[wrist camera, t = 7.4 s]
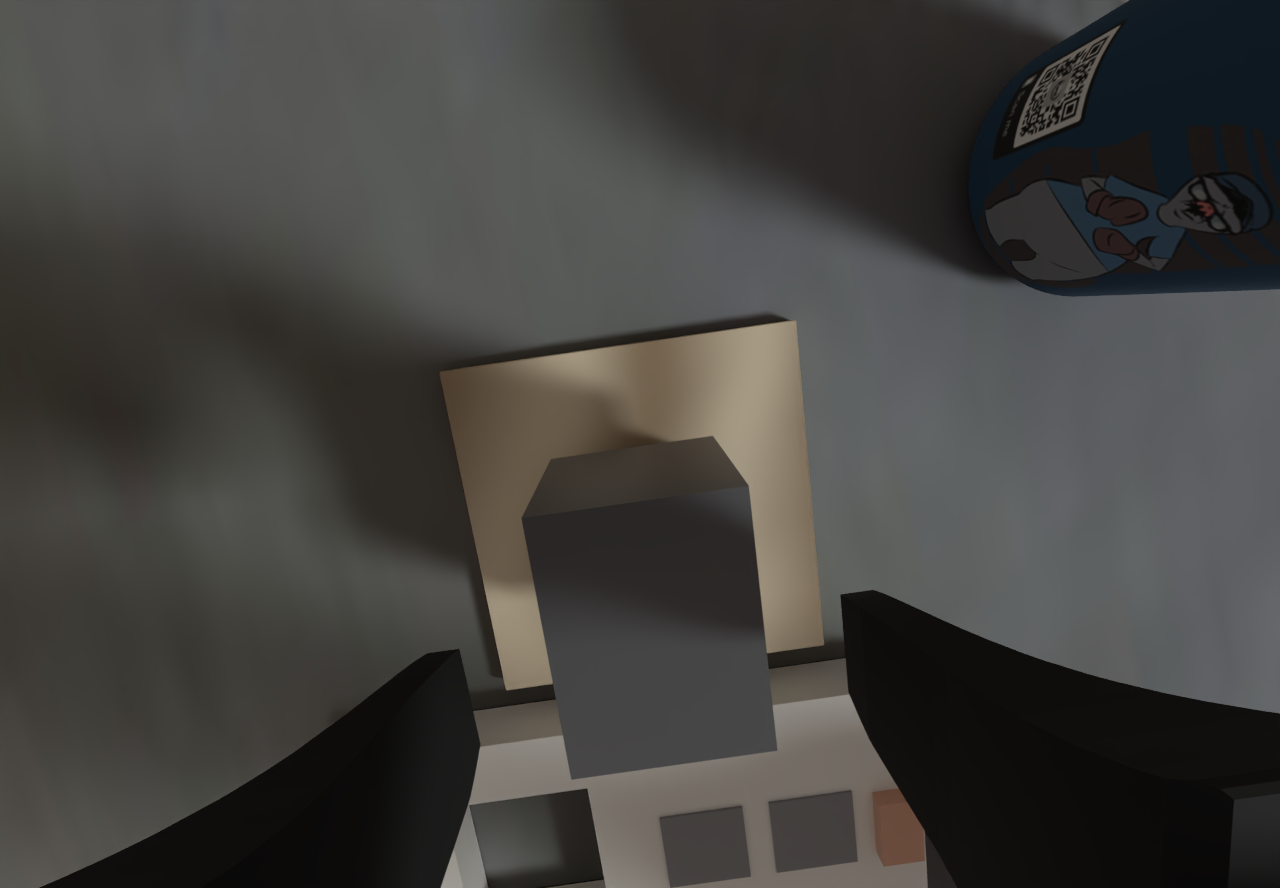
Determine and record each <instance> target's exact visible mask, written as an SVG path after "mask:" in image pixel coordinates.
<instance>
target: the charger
mask: <svg viewBox="0 0 1280 888" xmlns="http://www.w3.org/2000/svg"><path fill="white" fill-rule="evenodd" d="M521 519H522V524H523V530H524V535H525V540H526V545H527V550H528V556H529V561H530V566H531V571H532V577H533V582H534V587H535V592H536V598H537V603H538V608H539V613H540V619H541V624H542V629H543V634H544V639H545V645H546V650H547V655H548V660H549V666H550V671H551V676H552V681H553V687H554V692H555V697H556V702H557V708H558V713H559V718H560V723H561V728H562V734H563V739H564V744H565V749H566V755H567V760H568V765H569V770H570V776H571V780H573V779H580V778H587V777H594V776H602V775H609V774H616V773H623V772H630V771H637V770H644V769H651V768H658V767H665V766H673V765H680V764H687V763H694V762H701V761H708V760H715V759H722V758H729V757H736V756H743V755H751V754H758V753H765V752H772V751H777V741H776V732H775V723H774V714H773V704H772V695H771V686H770V677H769V667H768V658H767V649H766V640H765V630H764V621H763V612H762V603H761V593H760V584H759V575H758V566H757V556H756V547H755V538H754V529H753V519H752V510H751V501H750V492H749V485H748V484H747V482H746V481H745V480H744V478H743V477H742V475H741V474H740V473H739V471H738V470H737V468H736V467H735V466H734V464H733V463H732V462H731V460H730V459H729V457H728V456H727V455H726V453H725V452H724V450H723V449H722V448H721V446H720V445H719V443H718V442H717V441H716V439H715V438H714V436H708V437H701V438H694V439H687V440H680V441H673V442H666V443H659V444H652V445H645V446H638V447H631V448H624V449H617V450H610V451H603V452H596V453H589V454H582V455H575V456H568V457H561V458H554V459H551V460H550V462H549V464H548V466H547V468H546V470H545V472H544V474H543V476H542V478H541V480H540V482H539V484H538V486H537V488H536V490H535V492H534V494H533V496H532V498H531V500H530V502H529V504H528V506H527V508H526V510H525V512H524V514H523V516H522V518H521Z"/></svg>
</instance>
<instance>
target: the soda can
mask: <svg viewBox="0 0 1280 888" xmlns="http://www.w3.org/2000/svg"><path fill="white" fill-rule="evenodd" d="M968 197H969V205H970V211H971V215H972V219H973V222H974V226H975V228H976V231H977V233H978V235H979V237H980V239H981V241H982V243H983V245H984V246H985V248H986V250H987V251H988V253H989V254H990V255H991V257H992V258H993V259H994V260H995V261H996V262H997V264H998V265H999V266H1000V267H1002V268H1003V269H1004V270H1005V271H1006V272H1007V273H1008V274H1010V275H1011V276H1012V277H1014V278H1015V279H1017V280H1018V281H1020V282H1022V283H1023V284H1025V285H1027V286H1029V287H1032V288H1034V289H1036V290H1039V291H1042V292H1045V293H1050V294H1054V295H1061V296H1101V295H1130V294H1158V293H1186V292H1214V291H1242V290H1270V289H1280V0H1129V1H1128V2H1126V3H1124V4H1123V5H1121V6H1120V7H1118V8H1116V9H1115V10H1113V11H1111V12H1110V13H1108V14H1107V15H1105V16H1103V17H1102V18H1100V19H1098V20H1097V21H1095V22H1093V23H1092V24H1090V25H1089V26H1087V27H1085V28H1084V29H1082V30H1080V31H1079V32H1077V33H1075V34H1074V35H1072V36H1071V37H1069V38H1067V39H1066V40H1064V41H1062V42H1061V43H1059V44H1058V45H1056V46H1054V47H1053V48H1051V49H1049V50H1048V51H1046V52H1044V53H1043V54H1041V55H1040V56H1038V57H1037V58H1035V59H1034V60H1033V61H1032V62H1030V63H1029V64H1028V65H1027V66H1025V67H1024V68H1023V69H1022V70H1021V71H1020V72H1019V73H1018V74H1017V75H1016V76H1015V77H1014V78H1013V79H1012V80H1011V81H1010V82H1009V83H1008V85H1007V86H1006V87H1005V88H1004V89H1003V91H1002V92H1001V93H1000V95H999V96H998V98H997V99H996V100H995V102H994V104H993V105H992V107H991V108H990V110H989V112H988V114H987V116H986V117H985V119H984V122H983V124H982V126H981V128H980V131H979V133H978V136H977V139H976V141H975V145H974V148H973V152H972V157H971V161H970V168H969V177H968Z"/></svg>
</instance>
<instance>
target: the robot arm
mask: <svg viewBox="0 0 1280 888" xmlns="http://www.w3.org/2000/svg"><path fill="white" fill-rule="evenodd" d="M841 607H842V619H843V632H844V644H845V657H846V670H847V682H848V693H849V695H850V697H851V700H852V702H853V704H854V707H855V709H856V711H857V714H858V716H859V718H860V720H861V723H862V725H863V727H864V729H865V731H866V733H867V736H868V738H869V740H870V742H871V743H872V745H873V747H874V749H875V750H876V752H877V754H878V755H879V757H880V759H881V760H882V762H883V764H884V765H885V767H886V769H887V770H888V772H889V774H890V775H891V777H892V779H893V780H894V782H895V783H896V785H897V787H898V788H899V790H900V792H901V793H902V795H903V796H904V798H905V800H906V801H907V803H908V805H909V806H910V808H911V809H912V811H913V813H914V814H915V816H916V818H917V819H918V821H919V823H920V824H921V826H922V827H923V829H924V831H925V832H926V834H927V836H928V837H929V839H930V840H931V842H932V844H933V845H934V847H935V849H936V850H937V852H938V853H939V855H940V857H941V859H942V861H943V862H944V864H945V866H946V868H947V869H948V871H949V873H950V875H951V877H952V878H953V880H954V882H955V884H956V886H957V888H1280V714H1279V713H1272V712H1265V711H1259V710H1253V709H1247V708H1241V707H1235V706H1229V705H1223V704H1217V703H1212V702H1206V701H1201V700H1196V699H1191V698H1186V697H1181V696H1175V695H1171V694H1166V693H1162V692H1157V691H1153V690H1149V689H1145V688H1140V687H1136V686H1132V685H1128V684H1123V683H1119V682H1115V681H1111V680H1108V679H1104V678H1100V677H1096V676H1093V675H1089V674H1086V673H1082V672H1079V671H1076V670H1073V669H1070V668H1066V667H1063V666H1060V665H1057V664H1053V663H1050V662H1047V661H1044V660H1041V659H1038V658H1035V657H1032V656H1029V655H1026V654H1024V653H1021V652H1018V651H1016V650H1013V649H1010V648H1008V647H1005V646H1003V645H1000V644H998V643H995V642H992V641H990V640H987V639H985V638H982V637H980V636H978V635H975V634H973V633H970V632H968V631H966V630H963V629H961V628H959V627H957V626H954V625H952V624H950V623H948V622H945V621H943V620H941V619H939V618H937V617H934V616H932V615H930V614H928V613H926V612H923V611H921V610H919V609H917V608H915V607H913V606H910V605H908V604H906V603H904V602H902V601H899V600H897V599H895V598H893V597H890V596H888V595H886V594H883V593H881V592H878V591H875V590H870V591H863V592H856V593H849V594H842V595H841ZM480 745H481V744H480V739H479V735H478V730H477V726H476V721H475V717H474V713H473V708H472V704H471V699H470V695H469V690H468V686H467V681H466V677H465V672H464V668H463V664H462V659H461V655H460V650H459V649H455V650H448V651H441V652H434V653H427V654H426V655H424V656H422V657H421V658H419V659H418V660H416V661H415V662H413V663H412V664H411V665H409V666H408V667H406V668H405V669H404V670H402V671H401V672H400V673H399V674H397V675H396V676H395V677H393V678H392V679H391V680H390V681H388V682H387V683H386V684H384V685H383V686H382V687H381V688H379V689H378V690H377V691H376V692H374V693H373V694H372V695H370V696H369V697H368V698H367V699H365V700H364V701H363V702H361V703H360V704H359V705H358V706H356V707H355V708H354V709H353V710H351V711H350V712H349V713H347V714H346V715H345V716H343V717H342V718H341V719H339V720H338V721H337V722H335V723H334V724H332V725H331V726H330V727H328V728H327V729H326V730H324V731H323V732H321V733H320V734H319V735H317V736H316V737H315V738H313V739H312V740H310V741H309V742H308V743H306V744H305V745H304V746H302V747H301V748H299V749H298V750H297V751H295V752H294V753H292V754H291V755H289V756H288V757H286V758H285V759H283V760H282V761H280V762H279V763H277V764H276V765H274V766H273V767H271V768H270V769H268V770H267V771H265V772H263V773H262V774H260V775H259V776H257V777H255V778H254V779H252V780H251V781H249V782H247V783H246V784H244V785H242V786H241V787H239V788H238V789H236V790H234V791H233V792H231V793H229V794H228V795H226V796H224V797H222V798H221V799H219V800H217V801H215V802H213V803H212V804H210V805H208V806H206V807H204V808H202V809H200V810H199V811H197V812H195V813H193V814H191V815H189V816H188V817H186V818H184V819H182V820H180V821H178V822H177V823H175V824H173V825H171V826H169V827H167V828H165V829H164V830H162V831H160V832H158V833H156V834H154V835H152V836H150V837H148V838H146V839H144V840H142V841H140V842H138V843H136V844H134V845H132V846H130V847H128V848H126V849H124V850H122V851H120V852H118V853H116V854H113V855H111V856H109V857H107V858H105V859H103V860H101V861H98V862H96V863H94V864H92V865H90V866H87V867H85V868H83V869H81V870H79V871H76V872H74V873H72V874H70V875H68V876H65V877H63V878H61V879H59V880H56V881H54V882H52V883H49V884H47V885H45V886H42V887H40V888H441V885H442V882H443V879H444V876H445V873H446V870H447V867H448V864H449V861H450V858H451V855H452V852H453V849H454V847H455V844H456V841H457V837H458V834H459V831H460V828H461V825H462V822H463V819H464V816H465V813H466V810H467V807H468V803H469V800H470V797H471V792H472V787H473V783H474V778H475V773H476V767H477V762H478V756H479V750H480Z"/></svg>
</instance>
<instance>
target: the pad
mask: <svg viewBox="0 0 1280 888" xmlns="http://www.w3.org/2000/svg"><path fill="white" fill-rule="evenodd" d="M439 374H440V379H441V383H442V388H443V393H444V398H445V402H446V407H447V412H448V417H449V421H450V426H451V431H452V436H453V441H454V445H455V450H456V455H457V460H458V464H459V469H460V474H461V479H462V483H463V488H464V493H465V498H466V502H467V507H468V512H469V517H470V521H471V526H472V531H473V536H474V540H475V545H476V550H477V555H478V559H479V564H480V569H481V574H482V578H483V583H484V588H485V593H486V597H487V602H488V607H489V612H490V616H491V621H492V626H493V631H494V635H495V640H496V645H497V650H498V654H499V659H500V664H501V669H502V673H503V678H504V683H505V688H506V690H513V689H520V688H527V687H534V686H541V685H548V684H553V681H552V676H551V671H550V666H549V660H548V655H547V650H546V645H545V639H544V634H543V629H542V624H541V619H540V613H539V608H538V603H537V598H536V592H535V587H534V582H533V577H532V571H531V566H530V561H529V556H528V550H527V545H526V540H525V535H524V530H523V524H522V519H521V518H522V516H523V514H524V512H525V510H526V508H527V506H528V504H529V502H530V500H531V498H532V496H533V494H534V492H535V490H536V488H537V486H538V484H539V482H540V480H541V478H542V476H543V474H544V472H545V470H546V468H547V466H548V464H549V462H550V460H551V459H554V458H561V457H568V456H575V455H582V454H589V453H596V452H603V451H610V450H617V449H624V448H631V447H638V446H645V445H652V444H659V443H666V442H673V441H680V440H687V439H694V438H701V437H708V436H714V438H715V439H716V441H717V442H718V443H719V445H720V446H721V448H722V449H723V450H724V452H725V453H726V455H727V456H728V457H729V459H730V460H731V462H732V463H733V464H734V466H735V467H736V468H737V470H738V471H739V473H740V474H741V475H742V477H743V478H744V480H745V481H746V482H747V484H748V485H749V492H750V501H751V510H752V519H753V529H754V538H755V547H756V556H757V566H758V575H759V584H760V593H761V603H762V612H763V621H764V630H765V640H766V649H767V653H773V652H780V651H787V650H794V649H801V648H808V647H815V646H822V645H824V637H823V626H822V614H821V603H820V591H819V580H818V568H817V557H816V545H815V534H814V522H813V511H812V499H811V488H810V476H809V465H808V453H807V442H806V431H805V419H804V408H803V396H802V385H801V373H800V362H799V350H798V339H797V327H796V320H788V321H781V322H775V323H768V324H761V325H754V326H747V327H740V328H733V329H726V330H719V331H713V332H706V333H699V334H692V335H685V336H678V337H671V338H664V339H657V340H651V341H644V342H637V343H630V344H623V345H616V346H609V347H602V348H595V349H589V350H582V351H575V352H568V353H561V354H554V355H547V356H540V357H533V358H527V359H520V360H513V361H506V362H499V363H492V364H485V365H478V366H471V367H465V368H458V369H451V370H444V371H441V372H439Z"/></svg>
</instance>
